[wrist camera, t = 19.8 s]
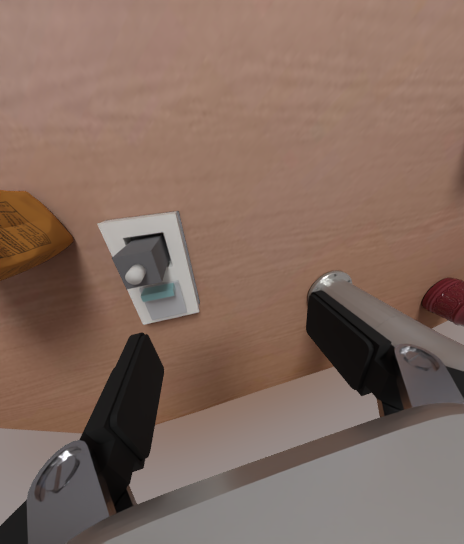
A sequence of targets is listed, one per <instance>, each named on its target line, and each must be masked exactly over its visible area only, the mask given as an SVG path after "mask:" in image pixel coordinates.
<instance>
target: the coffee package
mask: <svg viewBox="0 0 464 544" xmlns="http://www.w3.org/2000/svg"><path fill="white" fill-rule="evenodd" d="M72 242H73V237H72V235H71V234H70V233H69V232H68V231H67V230H66V229H65V228H64V226H63V225H62V224H61V223H60V221H59V220H58V219H57V218H56V217H55V216H54V215H53V214H52V213H51V212H50V211H49V210H48V209H47V208H46V207H45V206H44V205H43V204H42V203H41V202H40V201H38V200H37V199H36V198H34V197H33V196H32V195H31V194H29V193H28V192H26V191H3V190H0V281H1V280H4V279H7V278H9V277H12V276H14V275H17V274H19V273H22V272H24V271H26V270H29V269H31V268H33V267H35V266H37V265H39V264H41V263H43V262H45V261H47V260H49V259H50V258H52V257H54V256H55V255H57V254H58V253H60V252H61V251H63V250H64V249H65V248H67V247H68V246H69V245H70V244H71V243H72Z"/></svg>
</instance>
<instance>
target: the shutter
mask: <svg viewBox="0 0 464 544" xmlns="http://www.w3.org/2000/svg"><path fill="white" fill-rule="evenodd" d="M139 290H140V293H141V299H142V301H143V302H145V305H146V307H147V310H148V312H149V314H150V317H151V319H152V320H156V319H160V318H165V317H169V316H174V315H178V314H183V313H187V308H186V305H185V301H184V298H183V294H182V291H181V287H180V284H179V280H177V281H172V282H167V283H162V284H156V285H151V286H146V287H141V288H140V289H139Z"/></svg>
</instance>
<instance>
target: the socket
mask: <svg viewBox="0 0 464 544" xmlns="http://www.w3.org/2000/svg"><path fill="white" fill-rule="evenodd" d="M98 226H99V229H100V231H101V233H102V235H103V237H104V240H105V242H106V244H107V246H108V248H109V251H110V253H111V255H112V257H113V256H114V255H116V254H117V253H118V252H119V251H120V250H121V249H123V248H124V247H125V246H126V245H127V244H129V243H130V242H131V241H132V240H133V239H135V238H136V237H142V236H149V235H155V234H161V233H163V236H164V240H165V243H166V246H167V249H168V253H169V256H170V258H169V261H168V264H167V268H166V271H165V274H164V278H163V281H162V282H161V283H156V284H162V283H167V282H172V281H177V280H179V284H180V287H181V291H182V294H183V298H184V301H185V305H186V308H187V313H183V314H178V315H174V316H169V317H165V318H160V319H156V320H152V319H151V317H150V314H149V312H148V310H147V307H146V305H145V302H143V301H142V299H141V293H140V290H139V289H140V288H141V287H146V286H151V285H156V284H151V285H146V286H141V287H136V288H131V289H127V290H128V292H129V295H130V297H131V299H132V301H133V303H134V306H135V308H136V310H137V312H138V314H139V317H140V319H141V321H142V323H143V325H145V324H149V323H154V322H158V321H162V320H167V319H171V318H176V317H180V316H184V315H189V314H193V313H198V312H199V303H200V301H199V296H198V292H197V288H196V283H195V279H194V275H193V270H192V266H191V262H190V258H189V253H188V249H187V245H186V240H185V236H184V232H183V228H182V223H181V219H180V215H179V211H175V212H167V213H159V214H152V215H144V216H136V217H129V218H121V219H113V220H106V221H104V222H101V223H98Z"/></svg>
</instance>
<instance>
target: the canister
mask: <svg viewBox="0 0 464 544" xmlns="http://www.w3.org/2000/svg"><path fill="white" fill-rule="evenodd" d="M422 306H423V307H424V308H425V309H427V310H428V311H430V312H432V313H435V314H437V315H439V316H441V317H443V318H445V319H447V320H449V321H451V322H453V323H454V324H456V325H461V326H464V281H463V280H459V279H454V278H445V279H443V280H441V281H439V282H438V283H436V284H435V285H434V286H433V287H432V288H431V289H430V290H429V291H428V292H427V293H426V295H425V296H424V298H423V301H422Z"/></svg>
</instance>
